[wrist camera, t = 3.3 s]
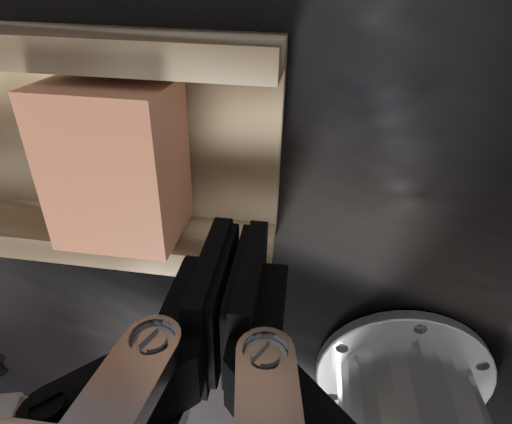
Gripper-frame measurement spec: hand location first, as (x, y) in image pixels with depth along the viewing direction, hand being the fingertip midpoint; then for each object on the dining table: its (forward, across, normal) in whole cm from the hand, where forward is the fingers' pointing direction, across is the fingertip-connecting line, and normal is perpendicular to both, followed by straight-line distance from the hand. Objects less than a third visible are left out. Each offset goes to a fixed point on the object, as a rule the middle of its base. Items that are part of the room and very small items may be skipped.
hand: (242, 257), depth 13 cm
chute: (+11, +12, +1) cm, 16 cm away
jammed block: (+10, +8, +1) cm, 13 cm away
